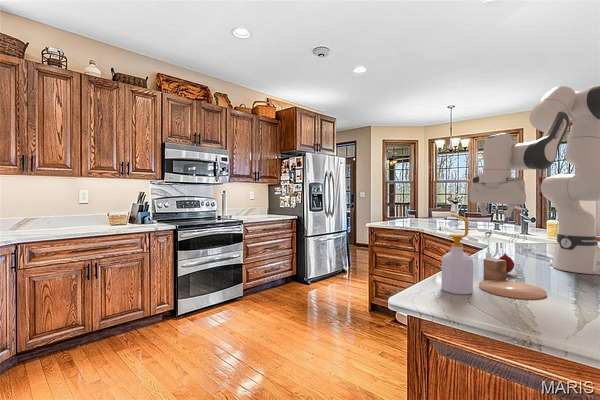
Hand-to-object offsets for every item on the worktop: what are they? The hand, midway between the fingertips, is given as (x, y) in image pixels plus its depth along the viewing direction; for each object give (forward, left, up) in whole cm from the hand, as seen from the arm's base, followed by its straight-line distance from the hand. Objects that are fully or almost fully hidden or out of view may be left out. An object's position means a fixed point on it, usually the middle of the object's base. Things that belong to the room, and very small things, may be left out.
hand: (495, 216), depth 115 cm
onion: (-10, -4, -23) cm, 25 cm away
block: (0, 0, -23) cm, 23 cm away
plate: (+7, +12, -23) cm, 27 cm away
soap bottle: (+24, +7, -23) cm, 34 cm away
